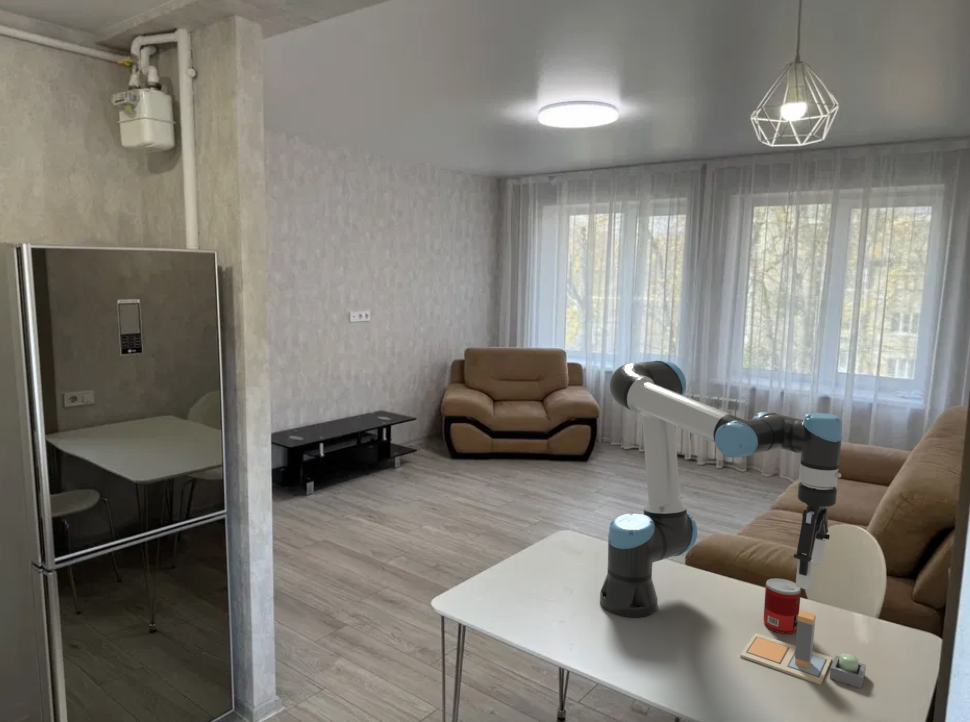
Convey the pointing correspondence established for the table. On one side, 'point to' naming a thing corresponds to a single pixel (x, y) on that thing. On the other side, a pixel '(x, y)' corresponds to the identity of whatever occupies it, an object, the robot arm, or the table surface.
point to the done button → (848, 663)
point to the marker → (804, 638)
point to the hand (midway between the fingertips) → (809, 576)
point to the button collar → (847, 674)
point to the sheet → (785, 658)
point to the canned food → (781, 605)
